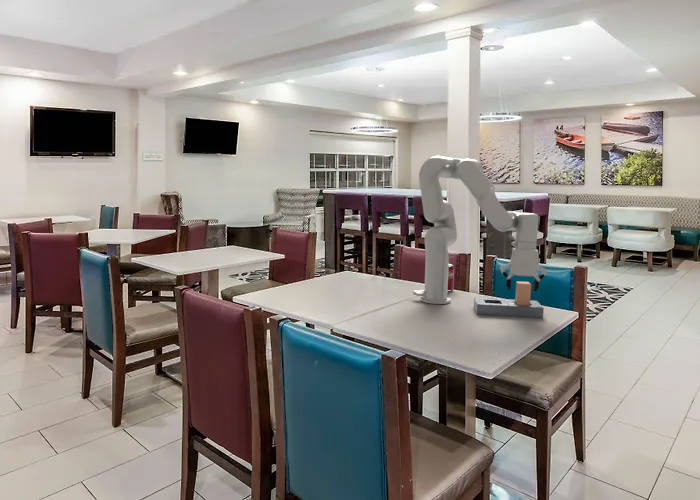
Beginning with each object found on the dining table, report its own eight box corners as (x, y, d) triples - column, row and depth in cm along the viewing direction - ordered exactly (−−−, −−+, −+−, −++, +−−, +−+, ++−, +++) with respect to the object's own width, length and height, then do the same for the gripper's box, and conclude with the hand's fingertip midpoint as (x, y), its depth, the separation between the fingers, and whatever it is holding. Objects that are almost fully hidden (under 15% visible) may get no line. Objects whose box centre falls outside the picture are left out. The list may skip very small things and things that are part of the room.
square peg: (516, 314, 193) (518, 283, 191) (514, 311, 197) (516, 281, 196) (529, 315, 192) (531, 284, 191) (526, 312, 197) (528, 281, 195)
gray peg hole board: (476, 314, 191) (477, 304, 191) (473, 307, 203) (474, 297, 203) (543, 318, 188) (543, 307, 187) (536, 310, 200) (536, 300, 199)
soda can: (453, 292, 233) (454, 266, 231) (437, 291, 234) (438, 265, 233) (453, 289, 240) (454, 264, 238) (437, 288, 241) (438, 263, 240)
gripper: (503, 245, 189) (499, 290, 191) (551, 248, 187) (547, 293, 189) (500, 243, 196) (497, 286, 199) (547, 245, 194) (543, 289, 196)
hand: (521, 290), depth 194 cm, fingers open, 9 cm apart
